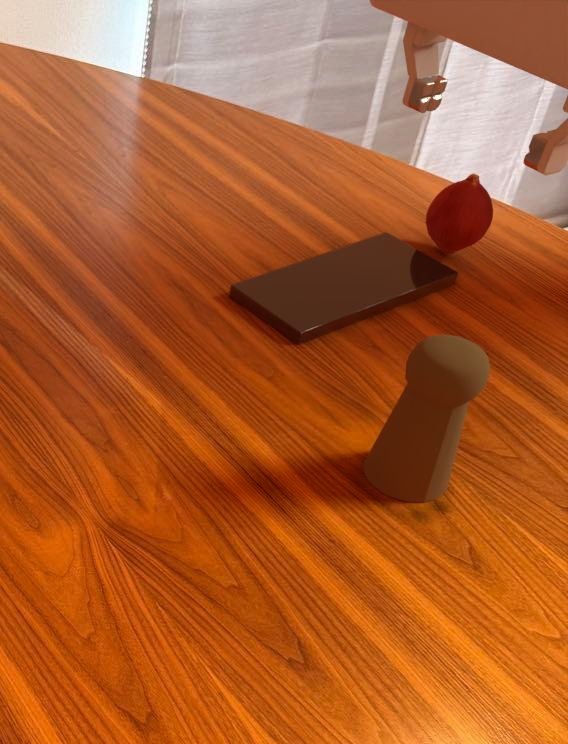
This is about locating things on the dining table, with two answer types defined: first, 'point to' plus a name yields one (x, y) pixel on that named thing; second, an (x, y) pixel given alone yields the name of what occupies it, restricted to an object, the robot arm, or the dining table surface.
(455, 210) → the onion
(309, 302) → the slate strip
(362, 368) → the dining table surface
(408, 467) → the pepper mill
